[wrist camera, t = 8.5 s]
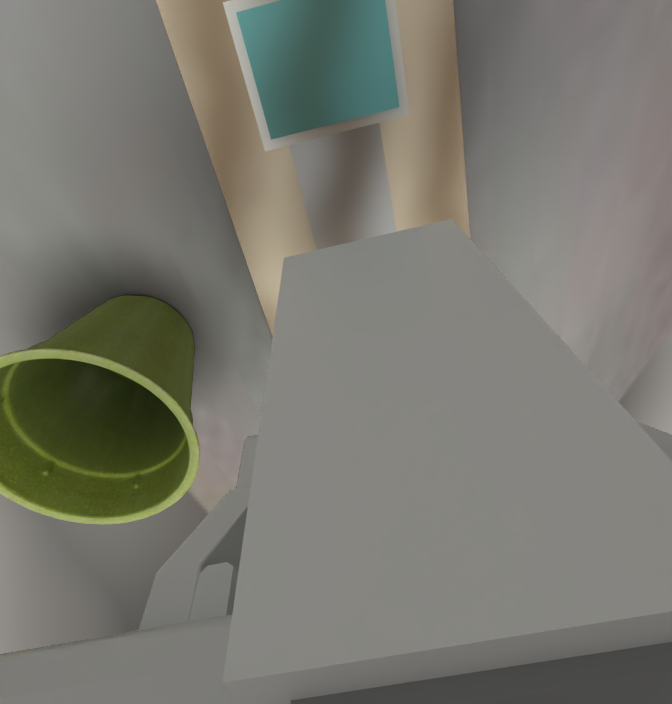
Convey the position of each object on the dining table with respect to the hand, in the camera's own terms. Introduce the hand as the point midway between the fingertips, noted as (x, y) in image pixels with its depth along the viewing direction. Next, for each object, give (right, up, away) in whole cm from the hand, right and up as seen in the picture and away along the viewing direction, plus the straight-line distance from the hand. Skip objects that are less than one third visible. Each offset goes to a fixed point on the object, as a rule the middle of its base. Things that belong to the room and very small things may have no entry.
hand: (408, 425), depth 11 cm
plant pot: (-15, +3, +22) cm, 27 cm away
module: (0, +2, +3) cm, 4 cm away
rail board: (-1, +11, +18) cm, 21 cm away
